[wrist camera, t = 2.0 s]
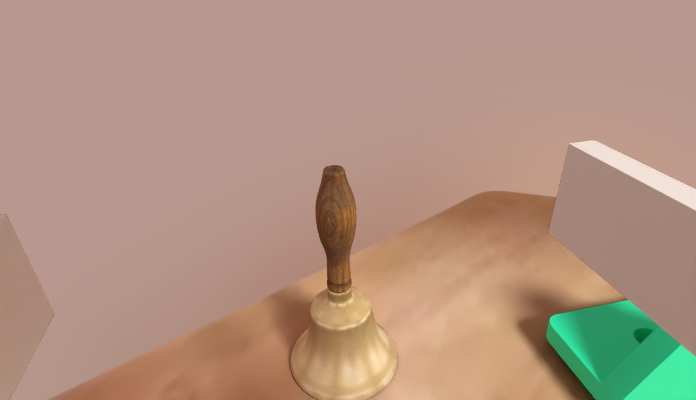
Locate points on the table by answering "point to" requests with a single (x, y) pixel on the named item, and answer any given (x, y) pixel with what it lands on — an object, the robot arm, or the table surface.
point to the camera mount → (623, 354)
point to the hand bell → (341, 313)
